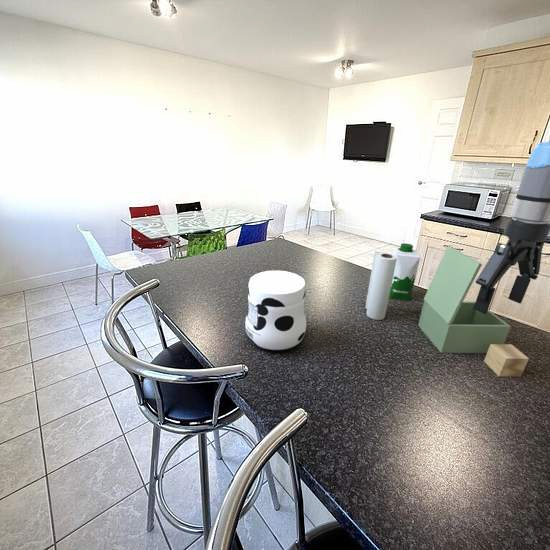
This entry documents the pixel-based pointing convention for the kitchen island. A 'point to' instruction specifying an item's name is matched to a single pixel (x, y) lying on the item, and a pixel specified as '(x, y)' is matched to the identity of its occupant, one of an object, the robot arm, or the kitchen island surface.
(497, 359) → the block
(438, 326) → the green hinged box
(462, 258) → the lid
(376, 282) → the paper towel roll
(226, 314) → the kitchen island surface
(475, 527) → the kitchen island surface
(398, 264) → the milk carton
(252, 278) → the milk container
